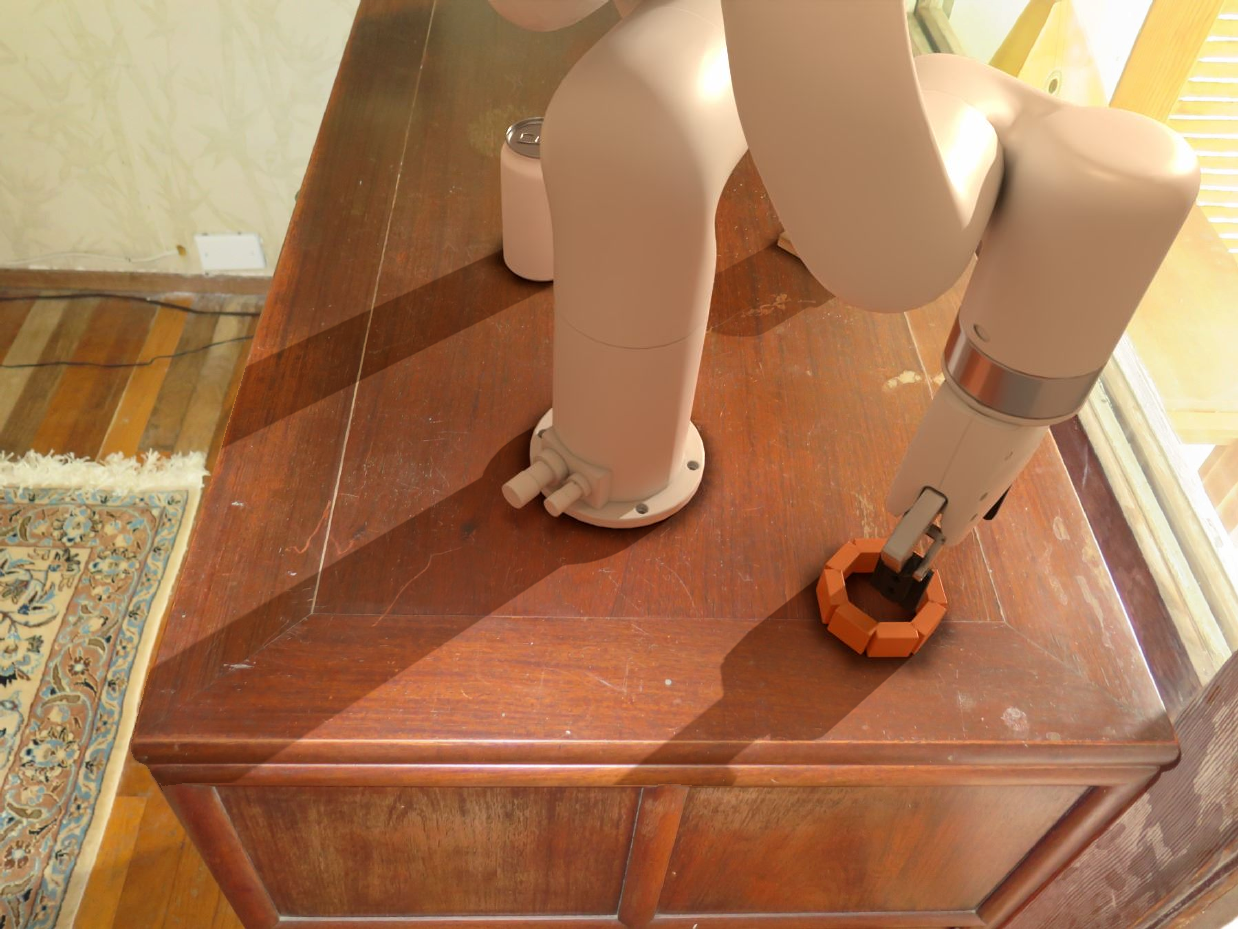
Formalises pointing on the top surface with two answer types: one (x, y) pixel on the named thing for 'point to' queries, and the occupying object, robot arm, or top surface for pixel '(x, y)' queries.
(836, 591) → the orange ring
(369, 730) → the top surface
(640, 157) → the robot arm
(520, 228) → the can
